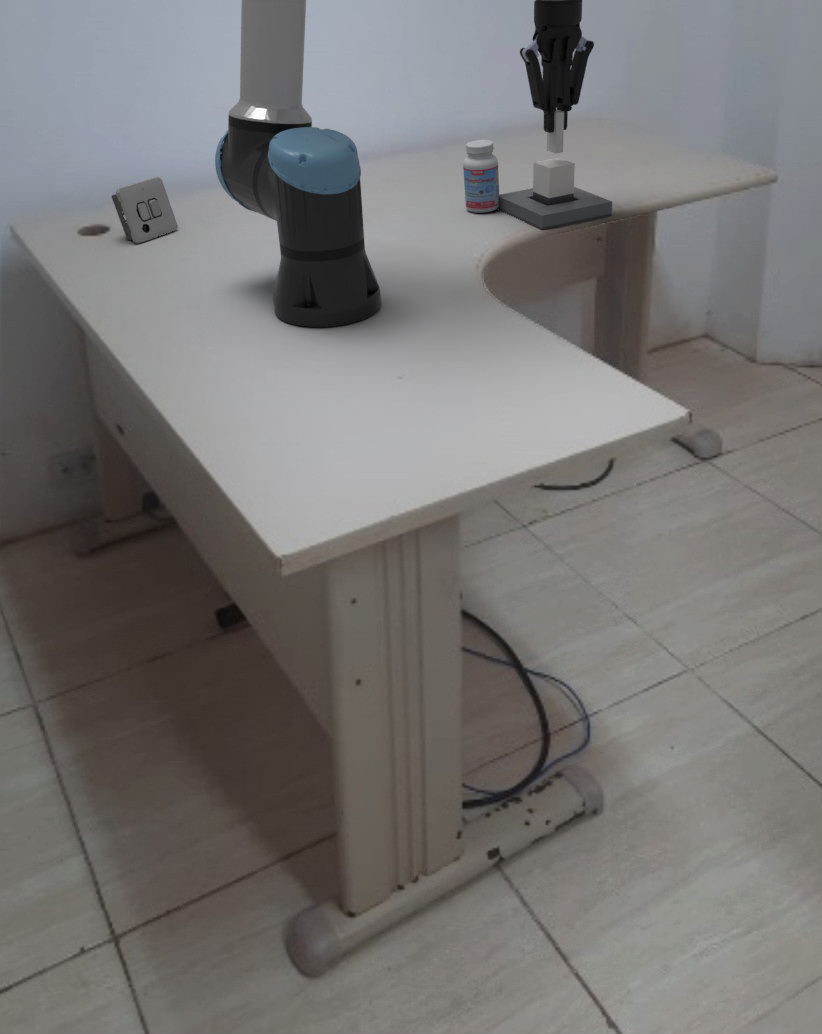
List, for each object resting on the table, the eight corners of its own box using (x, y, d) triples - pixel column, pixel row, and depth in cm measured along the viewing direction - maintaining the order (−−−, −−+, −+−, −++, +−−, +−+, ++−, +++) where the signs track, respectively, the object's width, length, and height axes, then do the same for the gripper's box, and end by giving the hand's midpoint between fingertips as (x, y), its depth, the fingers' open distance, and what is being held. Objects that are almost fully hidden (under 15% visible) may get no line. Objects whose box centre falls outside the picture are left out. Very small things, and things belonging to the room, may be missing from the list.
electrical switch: (137, 245, 179) (123, 189, 175) (118, 243, 182) (105, 188, 178) (179, 231, 185) (167, 176, 181) (161, 229, 188) (148, 176, 184)
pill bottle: (464, 214, 185) (459, 149, 179) (468, 203, 190) (463, 139, 184) (498, 213, 184) (495, 147, 178) (501, 201, 189) (498, 137, 183)
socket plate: (611, 215, 181) (612, 201, 179) (542, 230, 176) (542, 215, 174) (562, 195, 192) (563, 182, 191) (496, 208, 187) (496, 195, 186)
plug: (573, 210, 183) (574, 163, 179) (548, 215, 181) (549, 168, 177) (556, 204, 187) (558, 157, 182) (532, 209, 185) (533, 162, 181)
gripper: (579, -10, 171) (574, 141, 184) (510, -2, 167) (510, 153, 179) (606, -6, 165) (599, 149, 178) (535, 3, 161) (533, 161, 173)
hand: (554, 151), depth 179 cm, fingers closed
